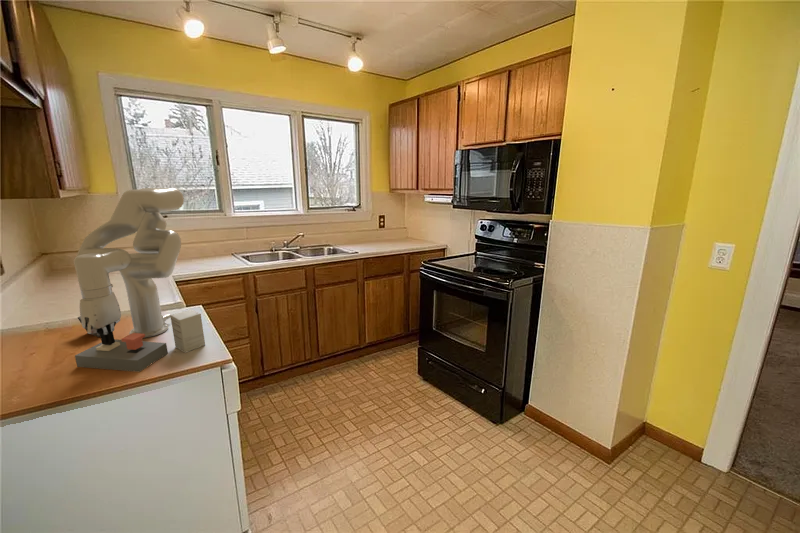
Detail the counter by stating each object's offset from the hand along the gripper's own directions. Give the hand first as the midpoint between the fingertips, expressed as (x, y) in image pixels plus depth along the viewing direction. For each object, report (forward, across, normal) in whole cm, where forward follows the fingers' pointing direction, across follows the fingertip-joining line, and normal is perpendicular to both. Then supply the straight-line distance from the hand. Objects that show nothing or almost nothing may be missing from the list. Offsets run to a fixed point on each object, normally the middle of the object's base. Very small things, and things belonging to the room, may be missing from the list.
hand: (108, 343), depth 118 cm
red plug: (0, 0, +10) cm, 10 cm away
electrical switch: (+6, -16, -22) cm, 27 cm away
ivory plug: (+4, +1, 0) cm, 4 cm away
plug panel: (+5, 0, +5) cm, 7 cm away
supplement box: (+6, -12, +20) cm, 24 cm away
